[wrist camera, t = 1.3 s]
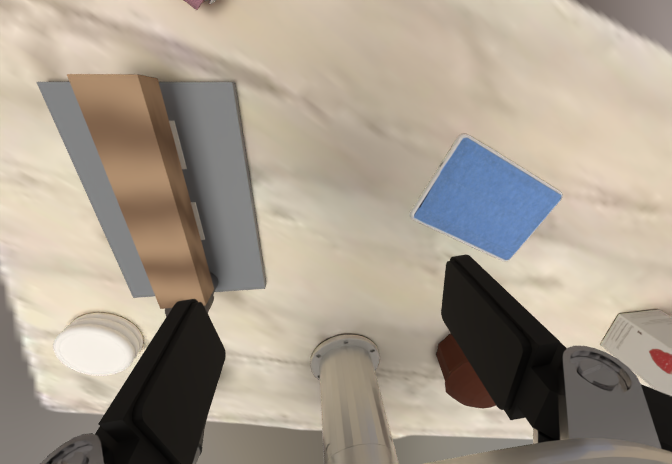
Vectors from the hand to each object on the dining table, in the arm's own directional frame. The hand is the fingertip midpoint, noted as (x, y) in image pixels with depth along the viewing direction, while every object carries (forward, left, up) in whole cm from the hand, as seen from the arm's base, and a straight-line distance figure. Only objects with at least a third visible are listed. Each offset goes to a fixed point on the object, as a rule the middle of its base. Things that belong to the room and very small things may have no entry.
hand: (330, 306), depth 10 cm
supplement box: (-34, -62, -25) cm, 75 cm away
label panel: (-4, +17, -24) cm, 30 cm away
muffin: (-35, -26, -25) cm, 50 cm away
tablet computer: (-6, -24, -25) cm, 35 cm away
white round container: (-25, +33, -25) cm, 48 cm away
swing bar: (-4, +16, -20) cm, 26 cm away
